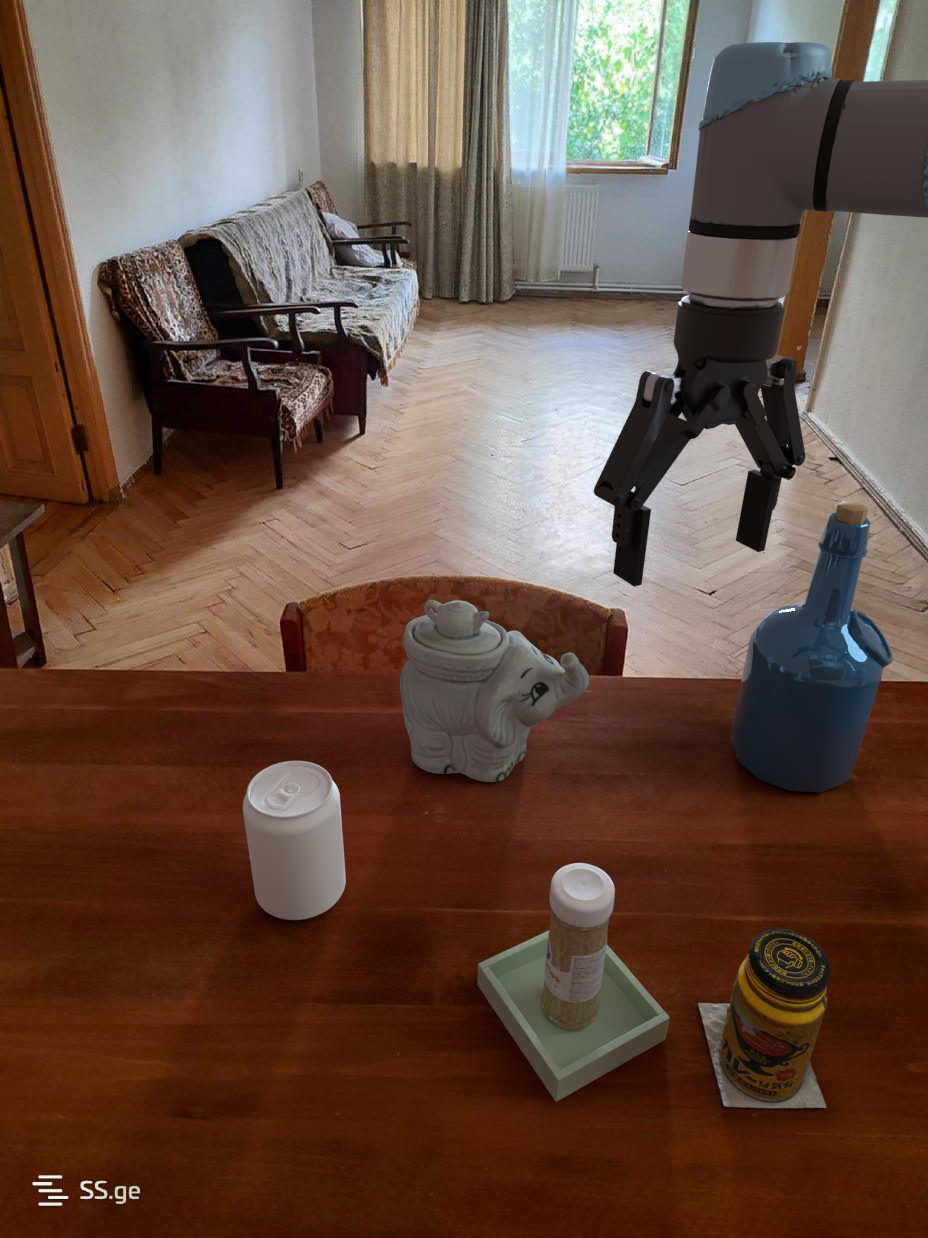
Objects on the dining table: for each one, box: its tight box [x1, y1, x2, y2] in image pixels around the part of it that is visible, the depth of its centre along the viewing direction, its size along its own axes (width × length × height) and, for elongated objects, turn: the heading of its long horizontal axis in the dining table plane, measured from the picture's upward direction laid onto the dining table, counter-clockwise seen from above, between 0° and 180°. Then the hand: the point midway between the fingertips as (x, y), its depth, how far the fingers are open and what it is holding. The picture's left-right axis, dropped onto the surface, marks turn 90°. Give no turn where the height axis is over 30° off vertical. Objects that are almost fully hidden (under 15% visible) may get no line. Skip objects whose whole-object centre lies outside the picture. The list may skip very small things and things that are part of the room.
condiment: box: [697, 928, 831, 1109], centre depth 64 cm, size 7×8×12 cm
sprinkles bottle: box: [541, 862, 616, 1030], centre depth 66 cm, size 5×5×14 cm
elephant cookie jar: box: [399, 599, 590, 783], centre depth 92 cm, size 16×15×19 cm
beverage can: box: [242, 760, 347, 921], centre depth 77 cm, size 8×8×12 cm
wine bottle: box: [729, 500, 894, 793], centre depth 90 cm, size 14×13×30 cm
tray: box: [476, 930, 671, 1103], centre depth 69 cm, size 11×10×3 cm
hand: (690, 562), depth 74 cm, fingers open, 13 cm apart
